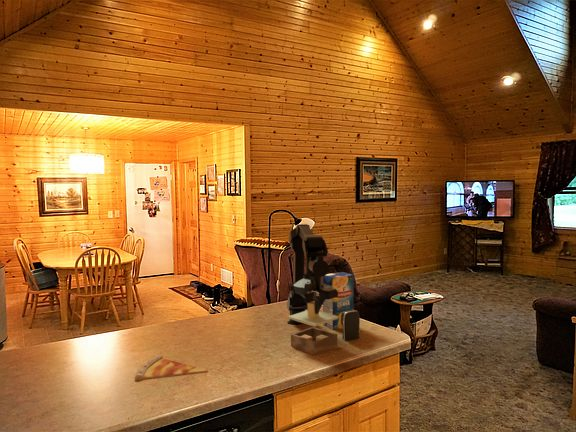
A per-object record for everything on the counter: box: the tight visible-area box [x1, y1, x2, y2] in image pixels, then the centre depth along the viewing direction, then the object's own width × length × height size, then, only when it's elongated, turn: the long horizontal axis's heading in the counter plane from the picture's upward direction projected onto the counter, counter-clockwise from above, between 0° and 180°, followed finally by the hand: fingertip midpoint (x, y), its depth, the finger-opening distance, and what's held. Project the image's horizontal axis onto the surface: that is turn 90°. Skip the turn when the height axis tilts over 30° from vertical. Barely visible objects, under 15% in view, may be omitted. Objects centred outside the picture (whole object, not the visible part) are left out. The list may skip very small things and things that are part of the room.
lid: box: [287, 300, 338, 328], centre depth 159 cm, size 13×13×6 cm
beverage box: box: [322, 271, 355, 330], centre depth 183 cm, size 7×11×22 cm, turn 121°
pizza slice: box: [134, 353, 209, 381], centre depth 138 cm, size 16×22×2 cm
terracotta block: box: [300, 335, 312, 340], centre depth 160 cm, size 4×4×4 cm
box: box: [290, 326, 338, 356], centre depth 160 cm, size 12×12×5 cm
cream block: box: [316, 335, 328, 341], centre depth 160 cm, size 4×4×4 cm
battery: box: [341, 309, 361, 342], centre depth 168 cm, size 7×4×11 cm, turn 118°
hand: (313, 313), depth 160 cm, fingers closed on lid, 3 cm apart
